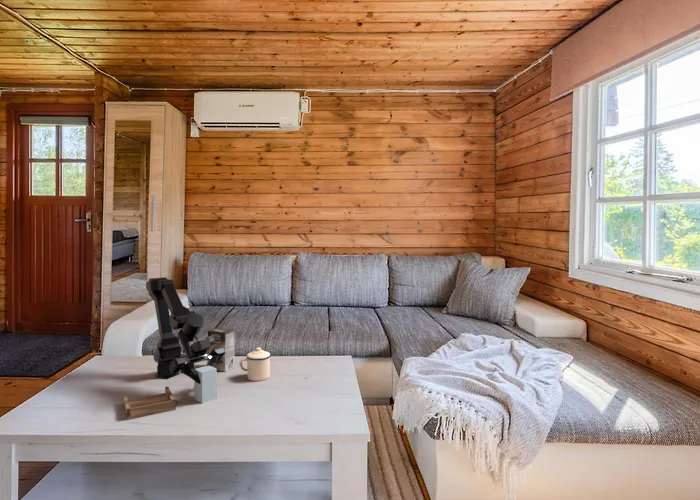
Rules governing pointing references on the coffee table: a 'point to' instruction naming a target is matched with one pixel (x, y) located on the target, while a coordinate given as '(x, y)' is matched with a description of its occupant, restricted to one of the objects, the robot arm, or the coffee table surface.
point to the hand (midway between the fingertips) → (207, 380)
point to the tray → (149, 404)
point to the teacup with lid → (257, 365)
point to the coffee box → (225, 341)
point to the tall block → (206, 384)
